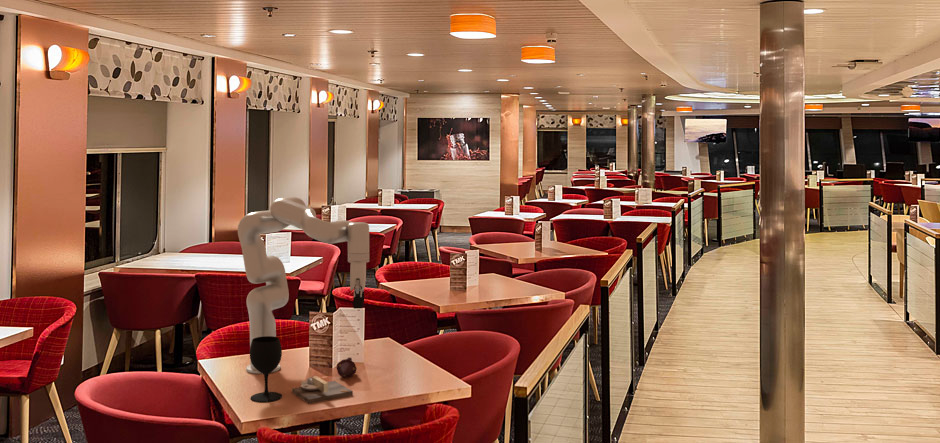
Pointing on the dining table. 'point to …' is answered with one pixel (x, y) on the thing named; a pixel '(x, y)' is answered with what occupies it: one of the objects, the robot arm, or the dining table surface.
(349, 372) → the dark brown ornament ball
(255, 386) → the dining table surface
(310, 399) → the dial plate
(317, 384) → the dial
